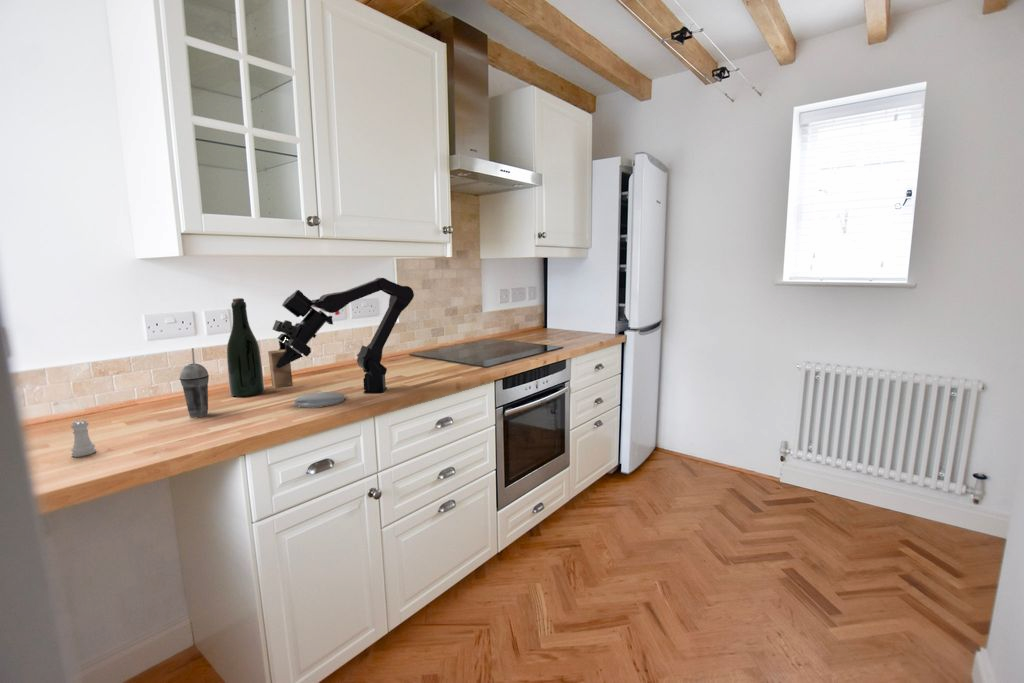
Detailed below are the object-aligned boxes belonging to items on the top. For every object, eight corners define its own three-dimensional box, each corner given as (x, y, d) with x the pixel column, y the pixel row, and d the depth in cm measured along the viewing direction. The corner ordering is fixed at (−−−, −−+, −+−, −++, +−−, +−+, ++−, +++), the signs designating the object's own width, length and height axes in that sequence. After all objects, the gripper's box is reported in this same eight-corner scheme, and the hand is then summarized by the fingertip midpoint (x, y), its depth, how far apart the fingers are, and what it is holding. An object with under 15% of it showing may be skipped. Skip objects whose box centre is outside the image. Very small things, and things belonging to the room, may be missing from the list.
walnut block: (289, 383, 156) (285, 349, 154) (292, 386, 152) (289, 351, 150) (272, 386, 153) (268, 351, 151) (275, 389, 149) (271, 353, 147)
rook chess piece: (84, 450, 118) (79, 418, 117) (101, 450, 118) (96, 418, 116) (66, 457, 114) (60, 424, 112) (83, 457, 113) (78, 424, 112)
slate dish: (351, 395, 165) (351, 391, 165) (333, 407, 150) (333, 404, 150) (308, 395, 166) (307, 391, 166) (285, 408, 151) (285, 404, 151)
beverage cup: (180, 420, 140) (171, 351, 137) (189, 413, 147) (181, 347, 144) (208, 417, 142) (201, 350, 139) (216, 410, 149) (209, 346, 146)
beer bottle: (238, 390, 174) (229, 297, 169) (269, 389, 175) (260, 297, 170) (224, 398, 164) (213, 299, 159) (257, 397, 165) (247, 298, 160)
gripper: (281, 308, 158) (247, 346, 154) (295, 312, 144) (258, 354, 139) (309, 329, 164) (277, 367, 160) (325, 335, 149) (290, 376, 145)
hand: (275, 366), depth 151 cm, fingers closed on walnut block, 5 cm apart
